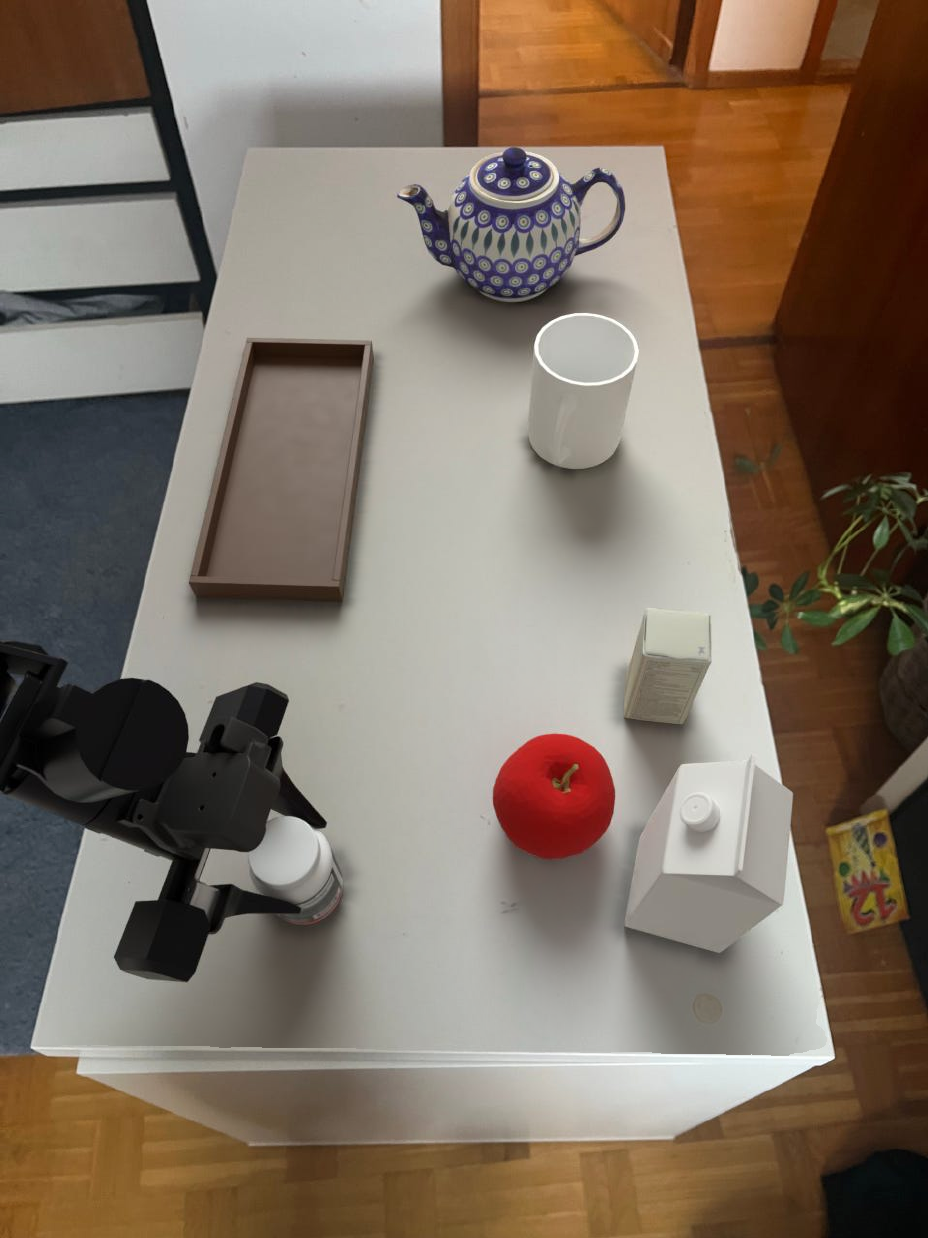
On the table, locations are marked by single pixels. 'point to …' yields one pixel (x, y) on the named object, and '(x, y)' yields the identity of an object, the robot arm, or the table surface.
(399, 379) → the table surface
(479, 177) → the teapot
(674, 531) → the table surface
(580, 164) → the table surface
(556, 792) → the fruit
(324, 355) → the tray
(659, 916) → the milk carton
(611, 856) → the table surface
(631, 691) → the box
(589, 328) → the mug
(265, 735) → the robot arm
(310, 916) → the pill bottle
